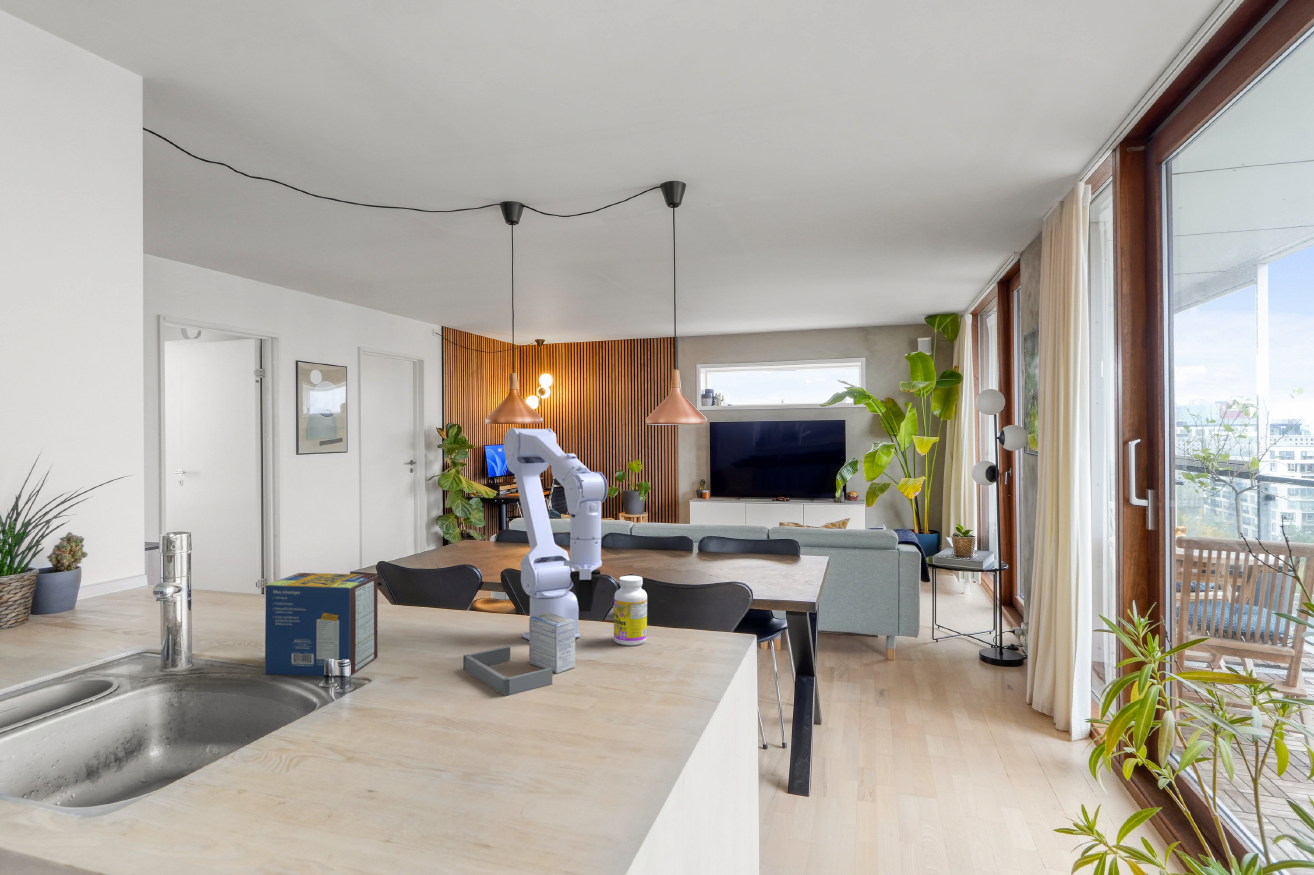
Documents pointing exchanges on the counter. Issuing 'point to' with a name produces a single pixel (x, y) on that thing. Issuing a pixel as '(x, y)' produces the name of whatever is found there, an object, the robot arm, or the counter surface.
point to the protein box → (320, 622)
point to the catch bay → (506, 686)
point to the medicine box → (552, 642)
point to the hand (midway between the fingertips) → (585, 610)
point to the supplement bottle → (630, 612)
